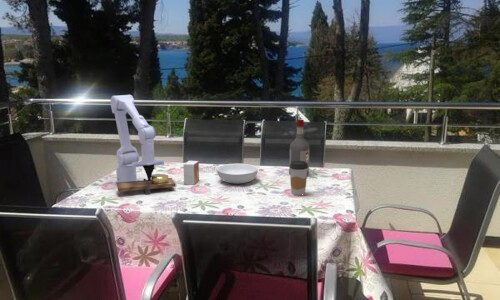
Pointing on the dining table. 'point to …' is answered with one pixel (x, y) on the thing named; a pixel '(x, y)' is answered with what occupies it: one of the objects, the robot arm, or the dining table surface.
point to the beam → (142, 185)
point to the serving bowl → (237, 173)
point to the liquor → (299, 147)
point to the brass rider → (159, 179)
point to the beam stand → (147, 189)
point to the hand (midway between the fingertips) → (149, 180)
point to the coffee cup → (298, 177)
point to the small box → (191, 172)
